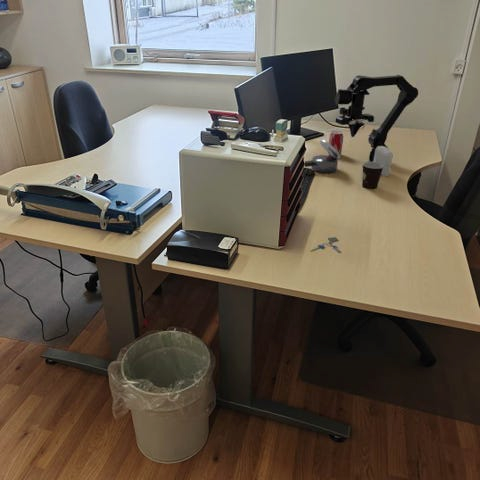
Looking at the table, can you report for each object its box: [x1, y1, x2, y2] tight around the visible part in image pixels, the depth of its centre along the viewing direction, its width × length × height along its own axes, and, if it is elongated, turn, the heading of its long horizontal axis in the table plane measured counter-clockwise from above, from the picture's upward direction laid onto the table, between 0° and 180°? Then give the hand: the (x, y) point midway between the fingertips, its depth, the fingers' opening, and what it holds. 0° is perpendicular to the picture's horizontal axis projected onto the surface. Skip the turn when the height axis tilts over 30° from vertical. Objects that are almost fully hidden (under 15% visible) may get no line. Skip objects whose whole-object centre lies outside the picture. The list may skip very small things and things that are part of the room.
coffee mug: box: [361, 161, 383, 190], centre depth 193 cm, size 12×9×10 cm
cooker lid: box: [319, 139, 342, 160], centre depth 209 cm, size 12×12×2 cm
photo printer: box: [373, 146, 394, 177], centre depth 207 cm, size 10×4×12 cm, turn 17°
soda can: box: [327, 130, 344, 157], centre depth 229 cm, size 7×7×12 cm
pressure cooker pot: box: [304, 154, 339, 175], centre depth 211 cm, size 18×12×5 cm, turn 113°
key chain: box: [310, 236, 342, 253], centre depth 148 cm, size 14×8×1 cm, turn 141°
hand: (352, 136), depth 216 cm, fingers closed
